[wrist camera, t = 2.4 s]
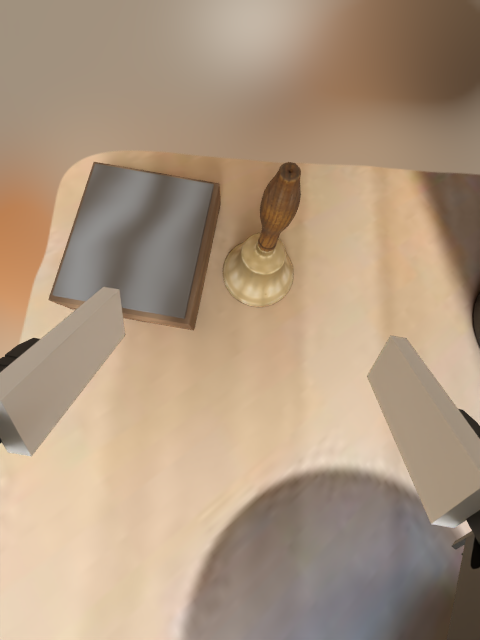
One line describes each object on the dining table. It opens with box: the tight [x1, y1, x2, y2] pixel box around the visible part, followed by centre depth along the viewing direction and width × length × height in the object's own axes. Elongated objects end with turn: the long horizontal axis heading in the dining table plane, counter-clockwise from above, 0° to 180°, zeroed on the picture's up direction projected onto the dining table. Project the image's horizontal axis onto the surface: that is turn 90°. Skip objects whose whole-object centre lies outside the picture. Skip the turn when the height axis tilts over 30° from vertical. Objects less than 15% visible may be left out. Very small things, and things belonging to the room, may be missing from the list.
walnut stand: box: [49, 162, 220, 330], centre depth 29 cm, size 14×16×4 cm
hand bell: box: [223, 162, 301, 307], centre depth 23 cm, size 8×8×16 cm
